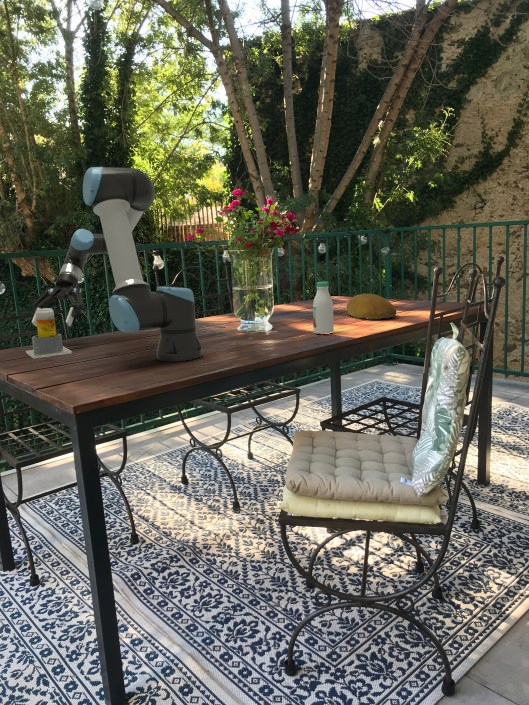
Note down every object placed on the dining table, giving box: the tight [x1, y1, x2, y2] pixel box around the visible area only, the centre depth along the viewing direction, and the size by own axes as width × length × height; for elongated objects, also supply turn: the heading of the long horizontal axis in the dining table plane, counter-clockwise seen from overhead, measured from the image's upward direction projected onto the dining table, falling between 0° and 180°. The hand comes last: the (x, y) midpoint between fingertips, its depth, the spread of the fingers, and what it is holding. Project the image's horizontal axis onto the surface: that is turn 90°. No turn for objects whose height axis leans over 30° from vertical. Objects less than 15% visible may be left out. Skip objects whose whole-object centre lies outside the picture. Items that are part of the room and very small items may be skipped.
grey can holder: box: [25, 332, 73, 360], centre depth 207 cm, size 13×13×6 cm
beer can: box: [36, 307, 57, 338], centre depth 206 cm, size 6×6×15 cm
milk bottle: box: [312, 281, 334, 334], centre depth 222 cm, size 8×8×20 cm
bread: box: [346, 293, 397, 320], centre depth 265 cm, size 18×35×10 cm, turn 12°
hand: (51, 324), depth 210 cm, fingers open, 13 cm apart
